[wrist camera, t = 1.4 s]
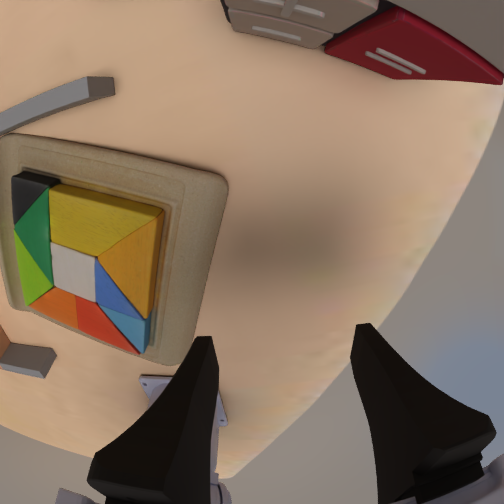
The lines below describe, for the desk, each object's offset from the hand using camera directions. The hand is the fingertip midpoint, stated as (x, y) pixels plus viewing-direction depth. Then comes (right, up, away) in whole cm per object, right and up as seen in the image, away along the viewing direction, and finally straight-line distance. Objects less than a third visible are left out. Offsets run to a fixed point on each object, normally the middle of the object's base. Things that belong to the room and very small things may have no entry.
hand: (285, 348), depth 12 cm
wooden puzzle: (-14, +4, +10) cm, 18 cm away
